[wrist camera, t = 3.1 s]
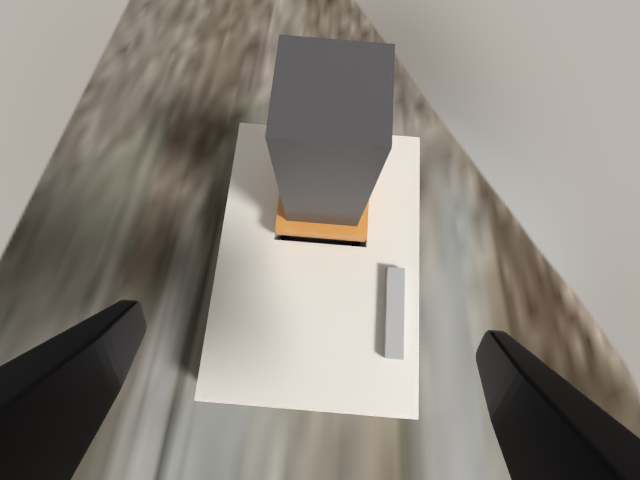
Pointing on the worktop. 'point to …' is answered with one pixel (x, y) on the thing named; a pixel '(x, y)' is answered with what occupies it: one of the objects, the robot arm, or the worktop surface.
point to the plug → (329, 134)
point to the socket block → (315, 299)
